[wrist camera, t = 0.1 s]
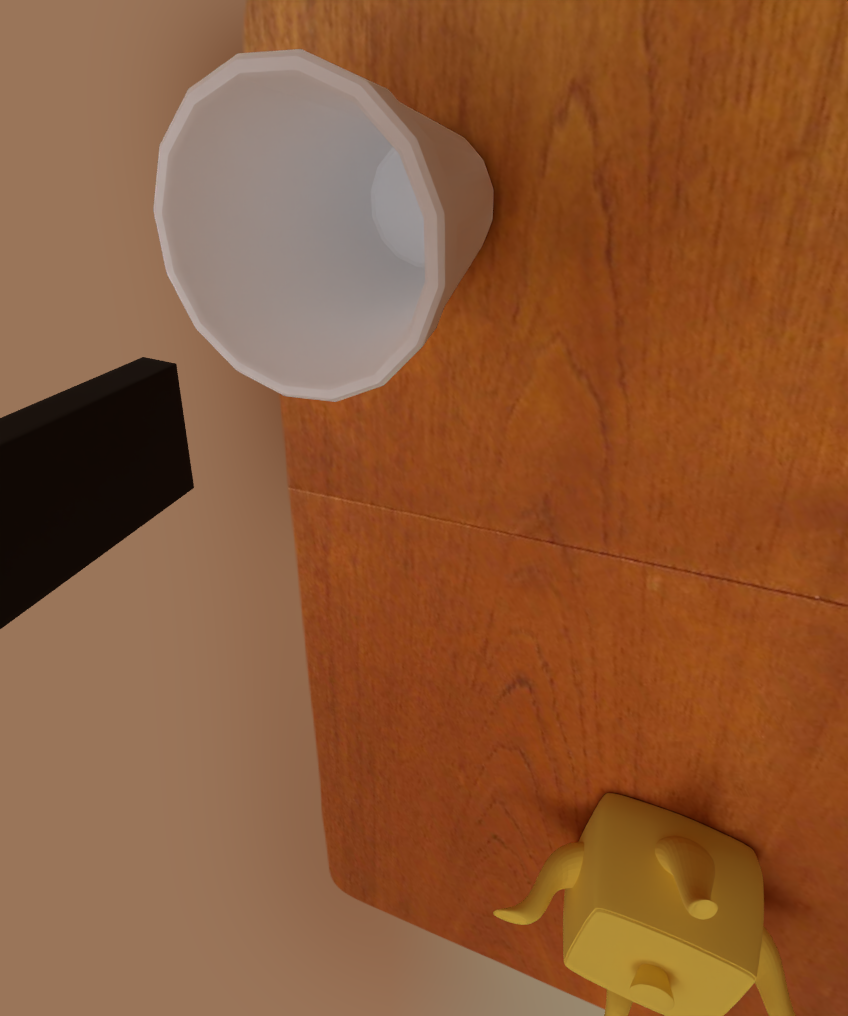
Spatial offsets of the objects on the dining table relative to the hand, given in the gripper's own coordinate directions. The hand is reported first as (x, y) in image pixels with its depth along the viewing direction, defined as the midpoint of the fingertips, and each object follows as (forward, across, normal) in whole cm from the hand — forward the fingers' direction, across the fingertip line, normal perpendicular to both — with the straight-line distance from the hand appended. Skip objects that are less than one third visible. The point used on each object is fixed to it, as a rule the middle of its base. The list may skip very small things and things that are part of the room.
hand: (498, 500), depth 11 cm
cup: (+22, -9, +2) cm, 24 cm away
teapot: (+22, +11, -38) cm, 45 cm away
